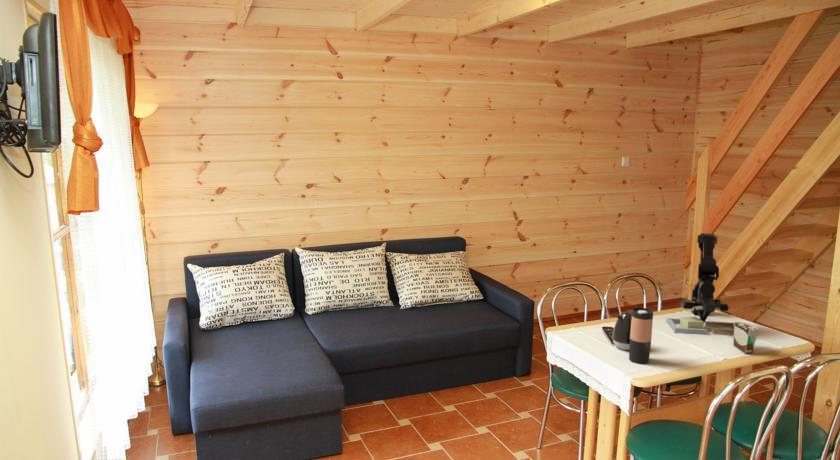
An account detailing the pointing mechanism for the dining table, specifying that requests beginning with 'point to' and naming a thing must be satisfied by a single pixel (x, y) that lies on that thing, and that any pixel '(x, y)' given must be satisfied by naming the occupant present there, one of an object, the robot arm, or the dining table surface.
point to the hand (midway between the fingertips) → (702, 323)
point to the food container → (744, 337)
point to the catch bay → (676, 329)
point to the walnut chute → (721, 324)
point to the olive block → (691, 322)
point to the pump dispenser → (622, 331)
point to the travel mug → (640, 335)
